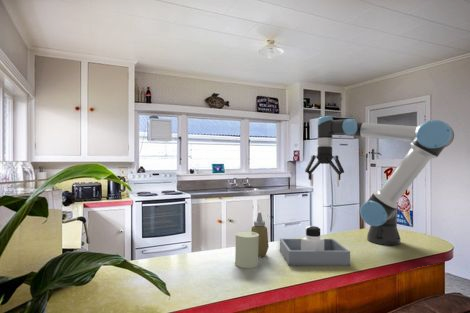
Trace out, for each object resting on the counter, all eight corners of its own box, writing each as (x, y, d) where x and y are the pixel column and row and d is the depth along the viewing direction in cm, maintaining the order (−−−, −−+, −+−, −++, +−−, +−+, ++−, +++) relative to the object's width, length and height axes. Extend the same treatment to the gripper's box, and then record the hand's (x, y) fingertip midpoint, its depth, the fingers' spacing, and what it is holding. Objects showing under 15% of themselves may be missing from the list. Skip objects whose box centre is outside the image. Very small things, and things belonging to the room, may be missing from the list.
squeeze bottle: (269, 258, 122) (270, 214, 122) (249, 258, 122) (250, 214, 122) (267, 252, 130) (268, 211, 130) (249, 252, 130) (249, 210, 130)
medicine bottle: (324, 255, 124) (324, 227, 124) (316, 260, 119) (316, 229, 119) (309, 251, 129) (309, 224, 129) (300, 255, 124) (300, 226, 124)
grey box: (332, 251, 133) (333, 238, 133) (349, 265, 115) (350, 251, 115) (279, 250, 132) (279, 238, 132) (288, 265, 114) (288, 251, 114)
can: (262, 266, 113) (262, 235, 113) (239, 269, 110) (240, 236, 110) (252, 258, 121) (253, 229, 121) (231, 261, 118) (232, 230, 118)
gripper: (345, 146, 162) (344, 185, 162) (299, 146, 161) (299, 185, 161) (351, 146, 154) (350, 187, 154) (303, 145, 153) (302, 186, 153)
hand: (324, 186), depth 157 cm, fingers open, 13 cm apart
